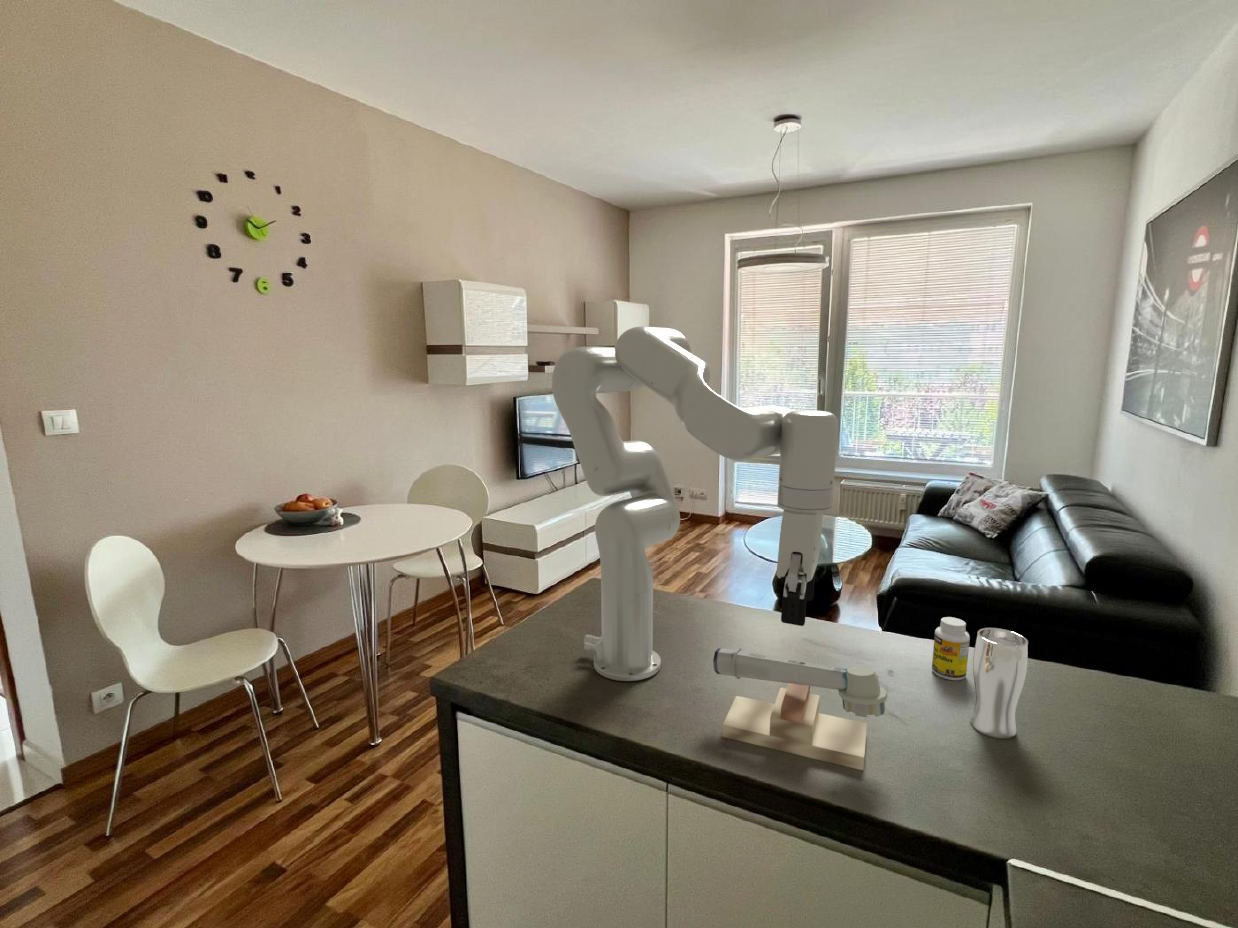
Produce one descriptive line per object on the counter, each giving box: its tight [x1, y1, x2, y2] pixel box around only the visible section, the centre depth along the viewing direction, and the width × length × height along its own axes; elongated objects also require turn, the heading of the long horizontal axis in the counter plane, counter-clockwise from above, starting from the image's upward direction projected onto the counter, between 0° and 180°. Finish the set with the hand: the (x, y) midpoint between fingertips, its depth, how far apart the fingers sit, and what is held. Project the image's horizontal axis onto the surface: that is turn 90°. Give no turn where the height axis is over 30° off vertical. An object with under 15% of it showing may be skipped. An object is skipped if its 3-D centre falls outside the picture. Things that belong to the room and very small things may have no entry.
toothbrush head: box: [712, 647, 888, 718], centre depth 93 cm, size 5×7×25 cm
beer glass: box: [970, 627, 1029, 740], centre depth 95 cm, size 7×7×15 cm
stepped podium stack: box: [722, 683, 868, 771], centre depth 94 cm, size 20×9×7 cm, turn 66°
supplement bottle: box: [931, 616, 971, 681], centre depth 112 cm, size 6×6×10 cm
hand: (797, 610), depth 92 cm, fingers open, 9 cm apart
